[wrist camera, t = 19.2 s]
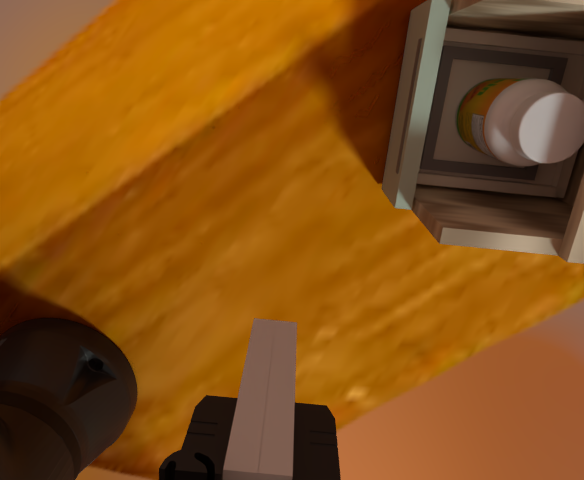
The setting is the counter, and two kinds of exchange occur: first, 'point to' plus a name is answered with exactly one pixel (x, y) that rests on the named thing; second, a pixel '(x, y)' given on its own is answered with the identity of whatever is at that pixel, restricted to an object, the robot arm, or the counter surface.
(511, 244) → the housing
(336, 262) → the counter surface
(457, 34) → the tray
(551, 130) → the supplement bottle
